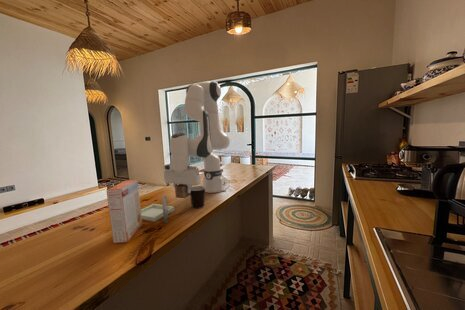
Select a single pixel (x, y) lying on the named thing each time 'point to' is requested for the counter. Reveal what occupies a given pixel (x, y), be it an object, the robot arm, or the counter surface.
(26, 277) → the counter surface
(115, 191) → the cracker box
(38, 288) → the counter surface
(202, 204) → the coffee mug
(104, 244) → the counter surface
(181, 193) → the walnut block
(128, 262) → the counter surface
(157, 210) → the sage dish
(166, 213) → the rod
